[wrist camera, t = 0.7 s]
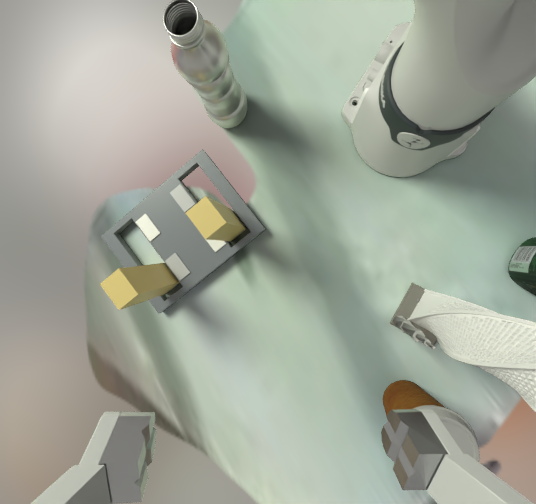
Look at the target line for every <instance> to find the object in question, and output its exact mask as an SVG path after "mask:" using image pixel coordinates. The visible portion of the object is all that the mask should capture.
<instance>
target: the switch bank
mask: <svg viewBox="0 0 536 504" xmlns="http://www.w3.org/2000/svg"><path fill="white" fill-rule="evenodd" d="M198 166H200V167H201V168H202V170H203V171H204V172H205V174H206V175H207V176H208V177H209V179H210V180H211V181H212V183H213V184H214V185H215V186H216V188H217V189H218V190H219V192H220V193H221V194H222V195H223V197H224V198H225V199H226V201H227V202H228V203H229V204H230V206H231V207H232V208H233V210H234V211H235V212H236V213H237V215H238V216H239V217H240V219H241V220H242V221H243V222H244V224H245V225H246V226H247V228H248V229H249V230H250V231H251V232H250V233H249V234H248V235H246V236H245V237H244V238H243V239H241V240H240V241H239V242H238V243H236V244H235V245H234V246H233V247H232V245H231V244H230V243H229V242H228V241H220V240H207V239H205V238H204V237H203V235H202V234H201V233H200V232H199V230H198V229H197V228H196V226H195V225H194V224H193V222H192V221H191V220H190V219H189V217H188V216H187V215H186V212H187V211H188V210H189V209H191V208H192V207H193V206H194V205H195V204H197V203H198V201H197V200H196V199H195V198H194V196H193V195H192V194H191V192H190V191H189V190H188V189H187V187H186V186H185V185H184V183H183V182H182V180H183V179H184V178H185V177H186V176H188V175H189V174H190V173H191V172H192V171H193V170H195V169H196V168H197V167H198ZM133 221H134V222H135V223H136V225H137V226H138V227H139V229H140V230H141V231H142V233H143V234H144V235H145V237H146V238H147V239H148V241H149V242H150V243H151V245H152V246H153V247H154V249H155V250H156V251H157V253H158V254H159V255H160V256H161V258H162V259H163V260H164V262H165V263H166V264H167V266H168V267H169V268H170V270H171V271H172V272H173V274H174V275H175V276H176V278H177V279H178V280H179V282H180V283H181V284H182V286H183V287H182V288H180V289H179V290H178V291H177V292H175V293H174V294H173V295H172V296H170V297H169V298H167V297H166V296H165V294H164V295H161V296H158V297H155V298H152V299H149V301H150V303H151V304H152V305H153V307H154V308H155V309H156V311H157V312H158V313H161V312H163V311H165V310H166V309H167V308H168V307H170V306H171V305H172V304H173V303H175V302H176V301H177V300H178V299H180V298H181V297H182V296H183V295H185V294H186V293H187V292H188V291H190V290H191V289H192V288H193V287H195V286H196V285H197V284H198V283H200V282H201V281H202V280H203V279H205V278H206V277H207V276H208V275H210V274H211V273H212V272H213V271H215V270H216V269H217V268H218V267H220V266H221V265H222V264H223V263H225V262H226V261H227V260H228V259H230V258H231V257H232V256H233V255H235V254H236V253H237V252H238V251H240V250H241V249H242V248H243V247H245V246H246V245H247V244H248V243H250V242H251V241H252V240H253V239H255V238H256V237H257V236H258V235H260V234H261V233H262V232H263V231H265V230H266V229H265V227H264V226H263V225H262V224H261V222H260V221H259V220H258V219H257V217H256V216H255V215H254V213H253V212H252V211H251V210H250V208H249V207H248V206H247V205H246V203H245V202H244V201H243V199H242V198H241V197H240V196H239V194H238V193H237V192H236V191H235V189H234V188H233V187H232V186H231V184H230V183H229V182H228V180H227V179H226V178H225V177H224V175H223V174H222V173H221V171H220V170H219V169H218V168H217V166H216V165H215V164H214V163H213V161H212V160H211V159H210V157H209V156H208V155H207V154H206V152H204V150H201V151H200V152H199V153H198V154H197V155H196V156H194V157H193V158H192V159H191V160H190V161H188V162H187V163H186V164H185V165H184V166H183V167H181V169H179V170H178V171H177V172H176V173H174V174H173V175H172V176H171V177H170V178H169V179H167V180H166V181H165V182H164V183H163V184H162V185H160V186H159V187H158V188H157V189H156V190H154V191H153V192H152V193H151V194H150V195H149V196H147V197H146V198H145V199H144V200H143V201H142V202H140V203H139V204H138V205H137V206H136V207H135V208H133V209H132V210H131V211H130V212H129V213H128V214H126V215H125V216H124V217H123V218H122V219H121V220H119V221H118V222H117V223H116V224H115V225H114V226H112V227H111V228H110V229H109V230H108V231H107V232H105V233H104V234H103V235H102V236H101V237H102V238H103V239H104V241H105V242H106V243H107V245H108V246H109V247H110V249H111V250H112V252H113V253H114V254H115V256H116V257H117V258H118V260H119V261H120V262H121V264H122V265H123V266H124V268H127V267H135V266H143V265H142V264H141V262H140V261H139V260H138V258H137V257H136V256H135V254H134V253H133V252H132V250H131V249H130V248H129V246H128V245H127V244H126V242H125V241H124V240H123V238H122V237H121V236H120V234H119V233H121V232H122V231H123V230H124V229H125V228H126V227H128V226H129V225H130V224H131V223H132V222H133Z"/></svg>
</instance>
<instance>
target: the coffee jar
mask: <svg viewBox="0 0 536 504" xmlns="http://www.w3.org/2000/svg"><path fill="white" fill-rule="evenodd" d="M508 270H509V275H510V277H511V278H512V279H513V281H515V282H516V283H517V284H518V285H520V286H521V287H522V288H524V289H526V290H527V291H529V292H531V293H532V294H534V295H536V237H535V238H531V239H529V240H527V241H525V242H524V243H523V244H522V245H521V246H520V247H519V248H518V249H517V250H516V252H515V253H514V254H513V256H512V258H511V260H510V263H509V267H508Z"/></svg>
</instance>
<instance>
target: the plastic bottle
mask: <svg viewBox="0 0 536 504" xmlns="http://www.w3.org/2000/svg"><path fill="white" fill-rule="evenodd" d="M163 23H164V26H165V29H166V31H167V32H168V34H169V37H170V39H171V40H172V43H171V53H172V58H173V62H174V65H175V67H176V69H177V71H178V72H179V73H180V74H181V76H182V77H183V78H184V79H185V80H186V81H187V82H188V83H189V84H191V85H192V86H193V87H194V89H195V90H196V91H197V92H198V94H199V95H200V96H201V98H202V100H203V102H204V106H205V109H206V111H207V114H208V116H209V117H210V119H211V120H212V121H213V122H214V123H216V124H217V125H219V126H220V127H223V128H232V127H235V126H237V125H239V124H240V123H241V122H242V121H243V120H244V118H245V116H246V113H247V98H246V95H245V92H244V91H243V89H242V88H241V86H240V85H239V84H238V83H237V81H236V79H235V77H234V75H233V73H232V69H231V66H230V61H229V55H228V50H227V45H226V42H225V39H224V37H223V35H222V34H221V32H220V31H219V30H218V29H217V28H216V27H215V26H214V25H213V24H212V23H211V22H209V21H207V20H204V19H203V18H202V16H201V14H200V13H199V11H198V9H197V7H196V6H195V4H194V3H193V2H192V1H191V0H173V1H171V2H170V3H169V4H168V5H167V7H166V8H165V10H164V13H163Z"/></svg>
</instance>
